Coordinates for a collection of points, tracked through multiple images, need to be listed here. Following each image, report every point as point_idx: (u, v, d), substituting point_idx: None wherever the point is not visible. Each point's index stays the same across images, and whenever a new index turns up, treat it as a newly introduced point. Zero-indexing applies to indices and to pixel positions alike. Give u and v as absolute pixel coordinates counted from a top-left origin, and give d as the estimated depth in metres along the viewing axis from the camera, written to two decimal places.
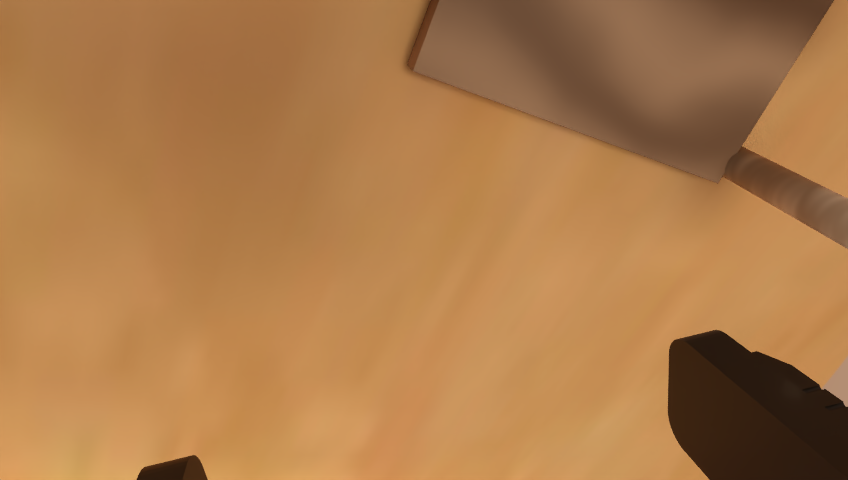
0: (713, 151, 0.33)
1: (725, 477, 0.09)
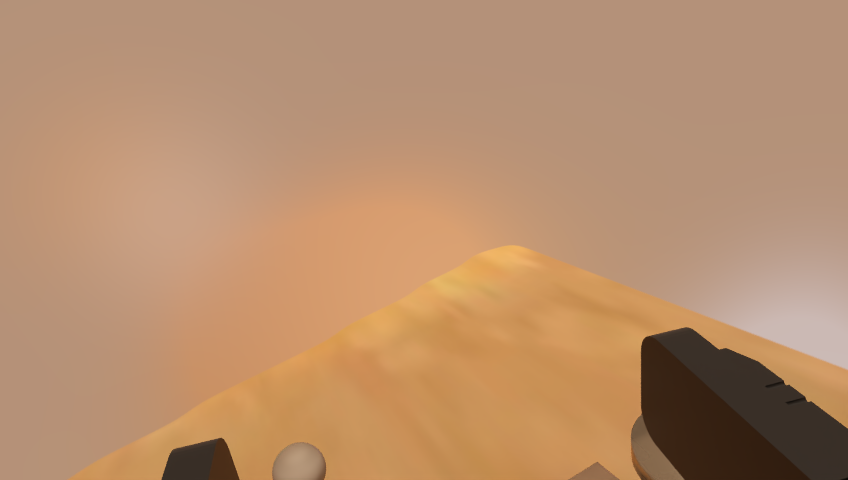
0: None
1: (693, 471, 0.09)
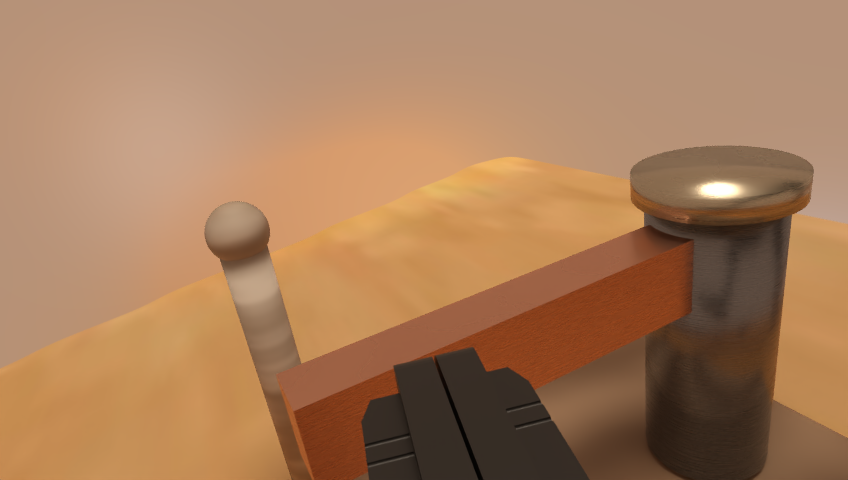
0: None
1: None
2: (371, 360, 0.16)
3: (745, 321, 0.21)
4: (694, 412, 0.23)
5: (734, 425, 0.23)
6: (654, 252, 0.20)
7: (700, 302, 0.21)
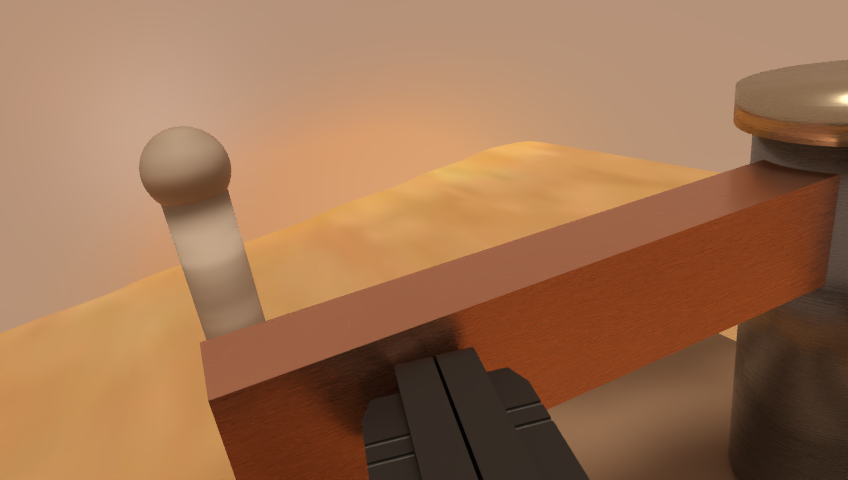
0: None
1: None
2: (349, 326, 0.10)
3: None
4: (814, 429, 0.16)
5: None
6: (783, 189, 0.13)
7: (841, 270, 0.14)
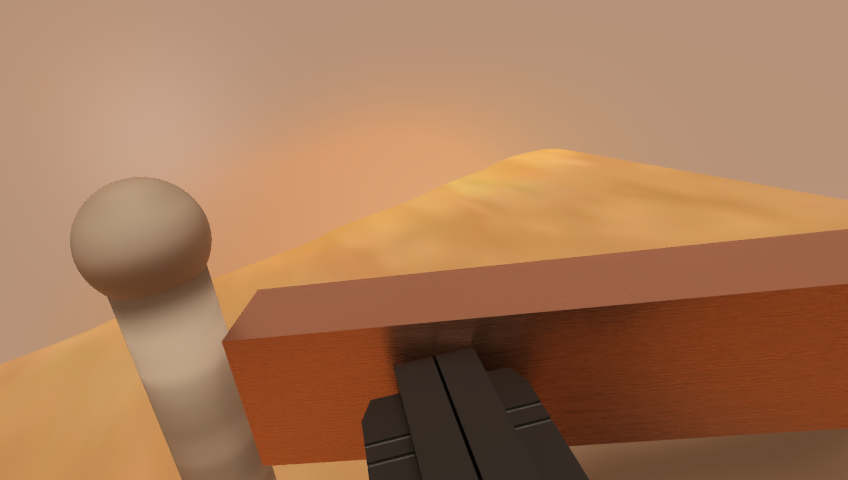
0: None
1: None
2: (363, 307, 0.11)
3: None
4: None
5: None
6: None
7: None
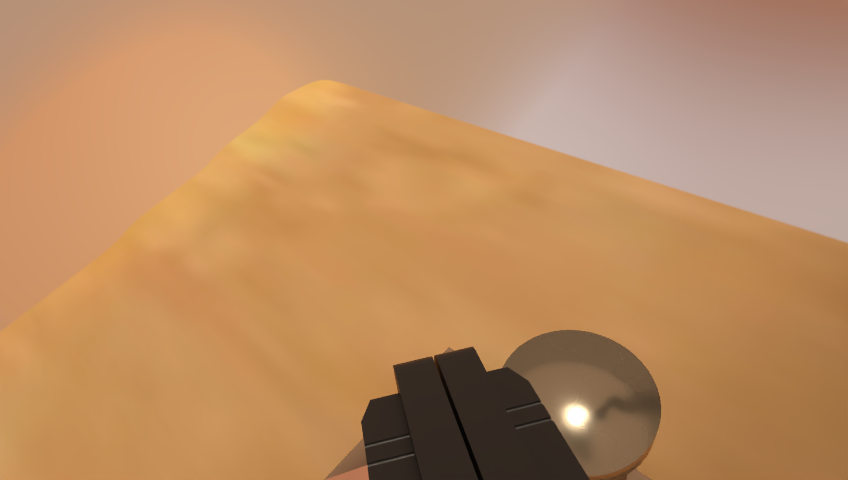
0: None
1: None
2: None
3: None
4: None
5: None
6: None
7: None
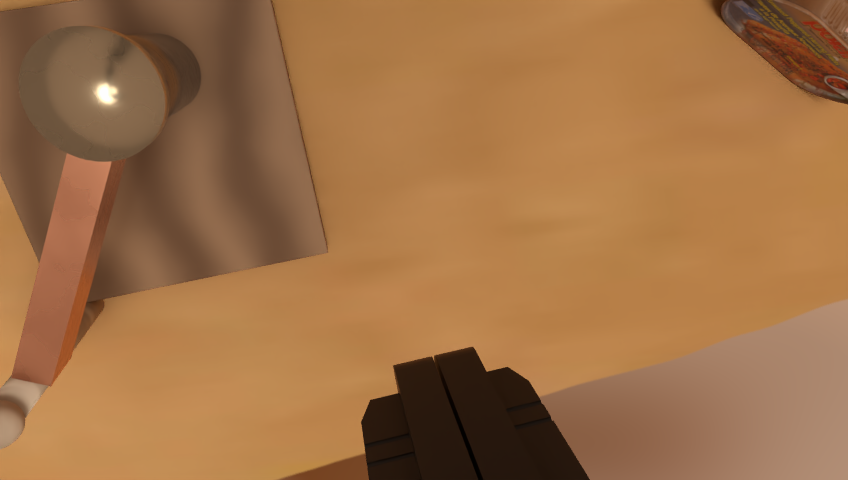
0: None
1: None
2: (45, 345, 0.31)
3: None
4: None
5: (181, 108, 0.36)
6: (103, 173, 0.29)
7: None
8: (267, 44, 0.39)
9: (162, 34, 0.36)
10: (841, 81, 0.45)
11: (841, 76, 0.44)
